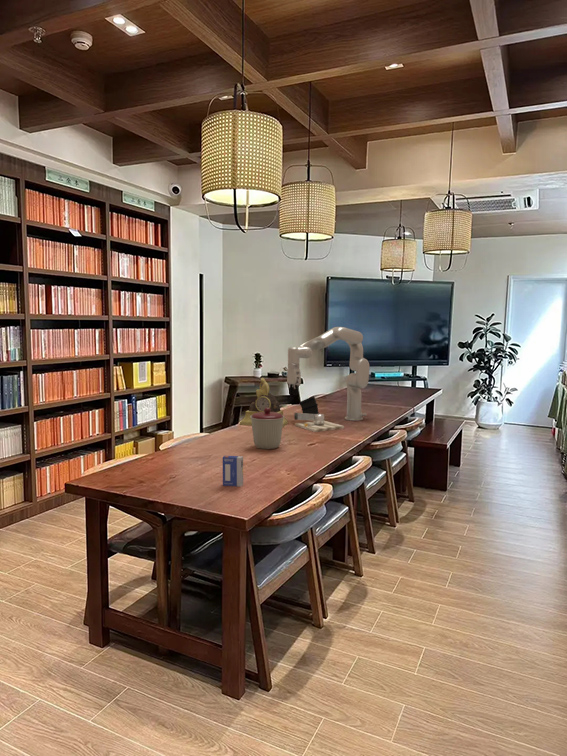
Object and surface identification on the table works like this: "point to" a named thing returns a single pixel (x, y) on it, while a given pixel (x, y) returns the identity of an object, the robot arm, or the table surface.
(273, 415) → the canister
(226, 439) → the table surface
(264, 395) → the decorative clock
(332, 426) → the dial base
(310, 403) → the black box
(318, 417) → the capstan lever
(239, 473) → the walkman
